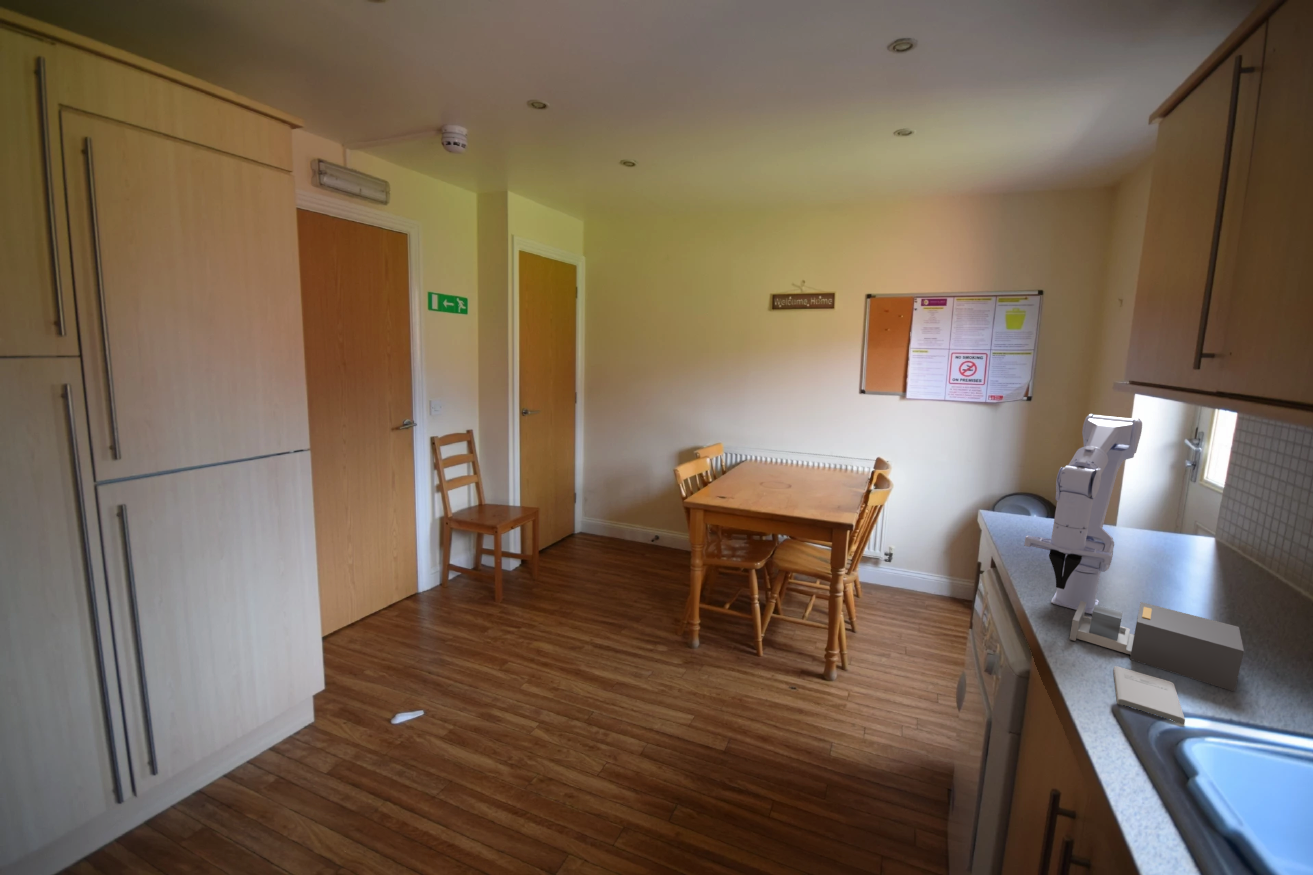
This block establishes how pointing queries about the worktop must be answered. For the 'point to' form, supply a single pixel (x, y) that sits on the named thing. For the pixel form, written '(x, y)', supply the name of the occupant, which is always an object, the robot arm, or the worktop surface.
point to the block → (1105, 622)
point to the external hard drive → (1147, 694)
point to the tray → (1082, 632)
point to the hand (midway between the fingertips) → (1060, 586)
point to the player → (1188, 645)
